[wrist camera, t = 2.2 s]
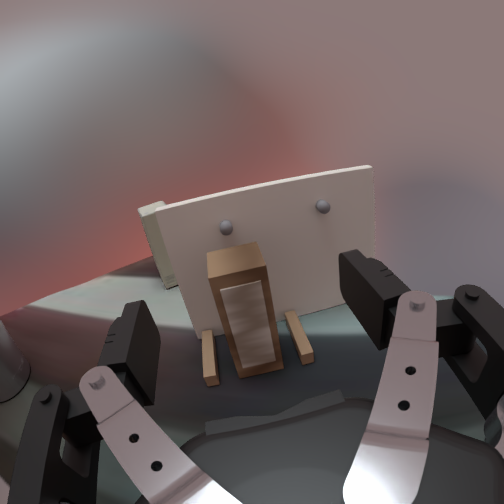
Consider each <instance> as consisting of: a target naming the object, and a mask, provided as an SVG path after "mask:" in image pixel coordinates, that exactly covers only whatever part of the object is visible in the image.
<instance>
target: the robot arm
mask: <svg viewBox="0 0 504 504" xmlns="http://www.w3.org/2000/svg"><path fill="white" fill-rule="evenodd" d="M338 261H339V282H340V291H341V294H342V297H343V299H344V301H345V302H346V303H347V305H348V306H349V308H350V309H351V311H352V312H353V313H354V315H355V316H356V318H357V319H358V321H359V322H360V324H361V325H362V326H363V328H364V329H365V331H366V332H367V334H368V335H369V337H370V338H371V340H372V341H373V343H374V344H375V346H376V347H377V349H378V350H379V351H380V350H382V349H385V348H388V352H387V356H386V360H385V365H384V369H383V373H382V376H381V380H380V384H379V388H378V391H377V395H376V398H375V400H372V399H367V398H359V397H347V398H343V396H342V394H341V391H340V389H338V390H335V391H332V392H329V393H326V394H323V395H320V396H316V397H313V398H310V399H307V400H305V401H303V402H301V403H299V404H297V405H295V406H293V407H291V408H289V409H287V410H285V411H283V412H281V413H279V414H277V415H274V416H236V417H231V418H226V419H220V420H214V421H208V422H205V431H206V432H203V433H201V434H199V435H197V436H195V437H193V438H192V439H190V440H189V441H187V442H186V443H185V444H184V445H182V446H181V447H180V448H178V447H177V445H176V444H175V443H174V442H173V441H172V440H171V439H170V438H169V437H168V436H167V435H166V434H165V433H164V432H163V431H162V430H161V428H160V427H159V426H158V425H157V424H156V423H155V422H154V421H153V420H152V418H151V417H150V416H149V415H148V414H147V413H146V411H145V410H144V409H143V407H144V406H150V405H154V399H155V389H156V379H157V369H158V360H159V352H160V343H161V341H160V335H159V331H158V329H157V326H156V324H155V322H154V320H153V318H152V316H151V313H150V311H149V309H148V307H147V304H146V303H145V301H144V300H140V301H136V302H131V303H127V304H125V307H124V310H123V313H122V316H121V317H118V318H117V319H116V320H115V321H114V322H113V324H112V325H111V326H110V329H109V331H108V334H107V336H108V337H106V340H105V344H104V346H103V349H102V352H101V356H100V359H99V362H98V365H97V367H95V368H92V369H91V370H89V371H88V372H87V373H85V375H84V376H83V377H82V379H81V381H80V384H79V387H78V388H75V389H72V390H70V391H67V392H64V393H63V391H62V390H61V389H60V388H59V387H58V386H57V385H54V384H50V385H46V386H44V387H43V388H41V389H40V390H39V391H38V392H37V393H36V394H35V396H34V398H33V401H32V404H31V407H30V410H29V413H28V416H27V420H26V423H25V426H24V430H23V433H22V437H21V441H20V445H19V448H18V452H17V457H16V461H15V465H14V470H13V475H12V480H11V485H10V491H9V496H8V503H7V504H96V491H97V474H98V461H99V450H100V441H101V440H103V439H104V440H105V441H106V443H107V445H108V446H109V448H110V449H111V451H112V452H113V454H114V455H115V457H116V458H117V460H118V461H119V463H120V464H121V466H122V467H123V469H124V470H125V471H126V473H127V474H128V475H129V477H130V478H131V480H132V481H133V482H134V484H135V485H136V486H137V488H138V489H139V490H140V491H141V493H142V495H141V497H140V498H139V499H138V500H137V501H136V503H135V504H504V308H503V307H502V306H501V305H499V304H498V303H497V302H496V301H495V300H494V299H493V298H492V297H491V296H490V295H489V294H488V293H487V292H485V291H484V290H483V289H481V288H480V287H478V286H475V285H462V286H460V287H458V288H457V289H456V291H455V294H454V299H447V300H439V301H436V300H435V299H434V297H433V296H432V295H430V294H428V293H426V292H423V291H411V290H410V289H409V288H408V287H407V286H406V285H405V284H404V283H403V282H402V281H401V280H400V279H399V278H398V277H397V276H395V275H394V274H393V272H392V271H391V270H388V268H387V267H386V266H385V265H384V264H383V263H382V262H380V261H378V260H375V259H374V258H371V257H370V258H366V257H365V256H364V255H363V254H362V253H361V252H360V251H359V250H358V249H354V250H350V251H347V252H343V253H340V254H339V257H338ZM476 338H478V339H479V340H480V341H481V343H482V344H483V345H484V346H485V348H486V350H487V355H488V356H487V355H486V354H485V353H484V351H483V350H482V349H481V348H480V346H479V345H478V344H477V343H476V342H475V341H476ZM440 357H443V358H444V359H445V361H446V362H447V363H448V365H449V366H450V368H451V369H452V370H453V372H454V373H455V375H456V376H457V378H458V379H459V381H460V382H461V383H462V385H463V386H464V388H465V389H466V391H467V392H468V394H469V395H470V397H471V398H472V400H473V401H474V403H475V405H476V406H477V408H478V409H479V411H480V412H481V414H482V416H483V417H484V419H485V420H486V421H485V424H484V434H485V442H483V441H481V440H478V439H475V438H472V437H469V436H466V435H463V434H460V433H457V432H454V431H451V430H449V429H446V428H443V427H441V426H438V425H435V424H433V423H431V418H432V411H433V404H434V396H435V388H436V378H437V367H438V358H440ZM29 374H30V365H29V362H28V361H27V360H26V358H25V357H24V356H23V354H22V353H21V351H20V350H19V348H18V347H17V345H16V344H15V342H14V341H13V339H12V338H11V336H10V335H9V333H8V332H7V330H6V328H5V327H4V325H3V324H2V322H1V320H0V402H3V401H6V400H8V399H10V398H12V397H13V396H15V395H16V394H17V393H18V392H19V391H20V390H21V389H22V387H23V386H24V385H25V383H26V381H27V379H28V377H29ZM62 437H63V438H64V439H65V446H64V451H63V458H62V459H61V457H60V452H59V450H60V444H61V439H62Z"/></svg>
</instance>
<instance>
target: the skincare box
mask: <svg viewBox="0 0 504 504" xmlns="http://www.w3.org/2000/svg"><path fill="white" fill-rule="evenodd" d="M165 205H166V204H165V203H164V202H163V201H159V202H156V203H153V204H150V205H147V206H144V207H141V208H139V209H138V212H139V215H140V218H141V221H142V224H143V227H144V231H145V234H146V237H147V240H148V243H149V246H150V248H151V251H152V254H153V257H154V260H155V263H156V265H157V268H158V271H159V274H160V276H161V279H162V281H163V283H164V285H165V287H166V288H167V289H168V288H170V287H173V286H175V285H178V283H177V280H176V277H175V274H174V271H173V268H172V265H171V262H170V259H169V256H168V253H167V250H166V247H165V244H164V241H163V237H162V234H161V231H160V228H159V225H158V221H157V218H156V215H155V210H156V208H158V207H162V206H165Z"/></svg>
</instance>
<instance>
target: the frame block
mask: <svg viewBox="0 0 504 504" xmlns="http://www.w3.org/2000/svg"><path fill="white" fill-rule="evenodd" d="M207 268H208V280H209V284H210V287H211V290H212V294H213V297H214V300H215V304H216V307H217V310H218V313H219V317H220V320H221V323H222V326H223V330H224V333H225V336H226V339H227V342H228V345H229V348H230V351H231V355H232V358H233V361H234V364H235V367H236V370H237V373H238V376H239V379H240V378H245V377H250V376H254V375H258V374H263V373H267V372H271V371H275V370H279V369H283V368H284V366H283V360H282V354H281V348H280V342H279V336H278V330H277V324H276V319H275V313H274V307H273V301H272V295H271V290H270V284H269V278H268V272H267V267H266V263H265V261H264V259H263V256H262V254H261V251H260V249H259V246H258V244H257V242H251V243H247V244H242V245H238V246H234V247H229V248H225V249H221V250H216V251H212V252H208V253H207Z"/></svg>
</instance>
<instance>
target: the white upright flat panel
mask: <svg viewBox="0 0 504 504" xmlns="http://www.w3.org/2000/svg"><path fill="white" fill-rule="evenodd" d="M374 199H375V197H374V176H373V167H371V166H369V165H365V166H358V167H351V168H345V169H338V170H332V171H326V172H320V173H315V174H309V175H303V176H298V177H292V178H287V179H282V180H276V181H272V182H266V183H262V184H256V185H252V186H247V187H242V188H237V189H233V190H228V191H224V192H219V193H215V194H211V195H206V196H202V197H198V198H194V199H189V200H185V201H182V202H177V203H173V204H169V205H165V206H162V207H158V208H156V210H155V215H156V218H157V221H158V225H159V228H160V231H161V234H162V237H163V241H164V244H165V247H166V250H167V253H168V256H169V259H170V262H171V265H172V268H173V271H174V274H175V277H176V280H177V283H178V286H179V288H180V291H181V294H182V297H183V300H184V302H185V305H186V308H187V311H188V313H189V316H190V319H191V321H192V324H193V327H194V329H195V332H196V334H197V337H198V339H202V354H203V375H204V379H205V381H206V384H207V386H214V385H219V374H218V364H217V354H216V343H215V337H214V336H217V335H222V334H225V333H224V330H223V326H222V323H221V320H220V317H219V313H218V310H217V307H216V304H215V300H214V297H213V294H212V290H211V287H210V284H209V280H208V268H207V253H208V252H212V251H216V250H221V249H225V248H229V247H234V246H238V245H242V244H247V243H251V242H257V244H258V246H259V249H260V251H261V254H262V256H263V259H264V261H265V263H266V267H267V272H268V278H269V284H270V290H271V295H272V301H273V307H274V313H275V319H276V322H278V321H282V320H286V324H287V327H288V329H289V332H290V334H291V337H292V339H293V342H294V345H295V347H296V350H297V352H298V355H299V357H300V360H301V363H302V365H304V364H308V363H312V362H314V354H313V350H312V348H311V345H310V343H309V341H308V339H307V336H306V334H305V332H304V330H303V328H302V325H301V323H300V321H299V319H298V316H301V315H305V314H309V313H313V312H316V311H320V310H324V309H327V308H331V307H334V306H338V305H341V304H345V303H346V302H345V301H344V299H343V297H342V294H341V291H340V282H339V261H338V257H339V254H340V253H343V252H347V251H350V250H354V249H358V250H359V251H360V252H361V253H362V254H363V255H364V256H365V257H366V258H370V257H371V258H374V259H375V200H374Z"/></svg>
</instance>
